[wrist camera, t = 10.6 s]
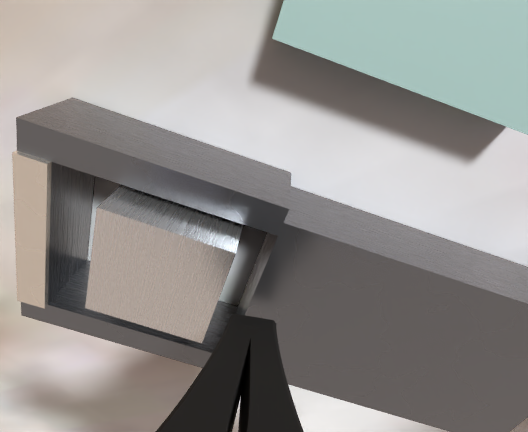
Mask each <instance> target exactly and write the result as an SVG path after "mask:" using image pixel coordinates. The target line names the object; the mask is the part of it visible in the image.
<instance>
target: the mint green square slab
mask: <svg viewBox="0 0 528 432" xmlns="http://www.w3.org/2000/svg"><path fill="white" fill-rule="evenodd" d="M272 39H274V40H277V41H280V42H282V43H285V44H288V45H290V46H293V47H296V48H298V49H301V50H304V51H306V52H309V53H312V54H314V55H317V56H320V57H322V58H325V59H328V60H330V61H333V62H336V63H338V64H341V65H343V66H346V67H349V68H351V69H354V70H357V71H359V72H362V73H365V74H367V75H370V76H373V77H375V78H378V79H381V80H383V81H386V82H389V83H391V84H394V85H397V86H399V87H402V88H405V89H407V90H410V91H413V92H415V93H418V94H421V95H423V96H426V97H429V98H431V99H434V100H437V101H439V102H442V103H445V104H447V105H450V106H453V107H455V108H458V109H461V110H463V111H466V112H469V113H471V114H474V115H477V116H479V117H482V118H485V119H487V120H490V121H493V122H495V123H498V124H501V125H503V126H506V127H509V128H511V129H514V130H517V131H519V132H522V133H525V134H527V135H528V0H284V1H283V5H282V8H281V11H280V14H279V18H278V21H277V24H276V28H275V31H274V34H273V37H272Z"/></svg>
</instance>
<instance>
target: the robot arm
mask: <svg viewBox="0 0 528 432" xmlns="http://www.w3.org/2000/svg"><path fill="white" fill-rule="evenodd" d="M240 396H241V401H240V415H239V430H238V432H303V429H302V426H301V423H300V421H299V418H298V415H297V412H296V409H295V406H294V403H293V400H292V396H291V393H290V390H289V386H288V383H287V379H286V375H285V372H284V368H283V364H282V359H281V354H280V350H279V344H278V338H277V329H276V323H275V321H274V320H270V319H264V318H258V317H252V316H246V315H240V314H232V315H231V316H230V318H229V321H228V323H227V326H226V328H225V330H224V332H223V334H222V336H221V338H220V340H219V342H218V344H217V346H216V347H215V349H214V351H213V353H212V354H211V356H210V357H209V359H208V361H207V362H206V364H205V366H204V367H203V369H202V370H201V372H200V373H199V375H198V376H197V378H196V379H195V381H194V382H193V384H192V385H191V386H190V388H189V389H188V391H187V392H186V394H185V395H184V396H183V398H182V399H181V400H180V402H179V403H178V404H177V406H176V407H175V408H174V410H173V411H172V412H171V414H170V415H169V416H168V417H167V419H166V420H165V421H164V422H163V424H162V425H161V426H160V427H159V428H158V430H157V431H156V432H232V429H233V425H234V421H235V417H236V413H237V409H238V405H239V400H240Z"/></svg>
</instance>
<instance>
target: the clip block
mask: <svg viewBox="0 0 528 432" xmlns="http://www.w3.org/2000/svg"><path fill="white" fill-rule="evenodd" d="M242 228H243V224H240V223H237V222H234V221H231V220H228V219H225V218H222V217H219V216H216V215H213V214H210V213H207V212H203V211H200V210H197V209H194V208H191V207H188V206H185V205H182V204H179V203H176V202H173V201H170V200H167V199H164V198H161V197H158V196H155V195H152V194H149V193H146V192H142V191H139V190H136V189H133V188H130V187H127V186H124V185H120V186H119V187H118V188H117V189H116V190H115V191H114V192H113V193H112V194H111V195H110V196H109V197H108V198H106V199H105V200H104V201H103V202H102V203H101V204H100V205H99V206H98V207H97V211H96V220H95V228H94V237H93V245H92V254H91V262H90V271H89V279H88V288H87V296H86V305H85V308H87V309H90V310H93V311H97V312H100V313H103V314H107V315H110V316H113V317H116V318H120V319H123V320H126V321H130V322H133V323H136V324H140V325H143V326H146V327H149V328H153V329H156V330H159V331H163V332H166V333H169V334H172V335H176V336H179V337H182V338H186V339H189V340H192V341H196V342H199V343H202V342H203V339H204V337H205V334H206V331H207V329H208V326H209V323H210V321H211V318H212V315H213V313H214V310H215V307H216V305H217V302H218V299H219V297H220V294H221V291H222V289H223V286H224V283H225V281H226V278H227V276H228V273H229V270H230V268H231V265H232V262H233V260H234V257H235V254H236V251H237V247H238V243H239V239H240V236H241V232H242Z"/></svg>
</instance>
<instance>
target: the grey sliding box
mask: <svg viewBox="0 0 528 432" xmlns="http://www.w3.org/2000/svg"><path fill="white" fill-rule="evenodd" d="M16 125H17V151H15V152H13V153H12V158H13V188H14V217H15V247H16V276H17V301H20V302H21V314H22V316H26V317H29V318H33V319H36V320H39V321H43V322H46V323H50V324H53V325H57V326H60V327H64V328H67V329H71V330H74V331H77V332H81V333H84V334H88V335H91V336H95V337H98V338H102V339H105V340H108V341H112V342H115V343H119V344H122V345H126V346H129V347H133V348H136V349H139V350H143V351H146V352H150V353H153V354H157V355H160V356H164V357H167V358H171V359H174V360H177V361H181V362H184V363H188V364H191V365H195V366H198V367H202V368H203V367H204V366H205V364H206V362H207V361H208V359H209V357H210V356H211V354H212V353H213V351H214V349H215V347H216V346H217V344H218V342H219V340H220V338H221V336H222V334H223V332H224V330H225V328H226V326H227V323H228V321H229V318H230V316H231V315H232V314H240V315H246V316H252V317H258V318H264V319H270V320H274V321H275V323H276V329H277V338H278V344H279V350H280V354H281V359H282V364H283V368H284V372H285V375H286V379H287V383H288V384H289V385H293V386H296V387H299V388H303V389H306V390H310V391H313V392H316V393H320V394H323V395H327V396H330V397H334V398H337V399H340V400H344V401H347V402H351V403H354V404H358V405H361V406H364V407H368V408H371V409H375V410H378V411H382V412H385V413H388V414H392V415H395V416H399V417H402V418H405V419H409V420H412V421H416V422H419V423H423V424H426V425H429V426H433V427H436V428H440V429H443V430H447V431H450V432H510V431H511V430H512V429H514V428H515V427H516V426H517V425H519V424H520V423H521V422H522V421H524V420H525V419H526V418H527V417H528V267H526V266H523V265H520V264H517V263H514V262H511V261H508V260H505V259H503V258H500V257H497V256H494V255H491V254H488V253H485V252H482V251H479V250H476V249H473V248H470V247H467V246H464V245H461V244H459V243H456V242H453V241H450V240H447V239H444V238H441V237H438V236H435V235H432V234H429V233H426V232H423V231H420V230H418V229H415V228H412V227H409V226H406V225H403V224H400V223H397V222H394V221H391V220H388V219H385V218H382V217H379V216H376V215H374V214H371V213H368V212H365V211H362V210H359V209H356V208H353V207H350V206H347V205H344V204H341V203H338V202H335V201H332V200H330V199H327V198H324V197H321V196H318V195H315V194H312V193H309V192H306V191H303V190H300V189H297V188H294V187H291V173H290V172H287V171H284V170H281V169H278V168H275V167H272V166H270V165H267V164H264V163H261V162H258V161H255V160H252V159H249V158H246V157H243V156H240V155H238V154H235V153H232V152H229V151H226V150H223V149H220V148H217V147H214V146H211V145H209V144H206V143H203V142H200V141H197V140H194V139H191V138H188V137H185V136H182V135H180V134H177V133H174V132H171V131H168V130H165V129H162V128H159V127H156V126H153V125H150V124H148V123H145V122H142V121H139V120H136V119H133V118H130V117H127V116H124V115H121V114H119V113H116V112H113V111H110V110H107V109H104V108H101V107H98V106H95V105H92V104H89V103H87V102H84V101H81V100H78V99H75V98H70V99H67V100H65V101H62V102H59V103H56V104H53V105H50V106H48V107H45V108H42V109H39V110H36V111H33V112H31V113H28V114H25V115H22V116H19V117H16ZM95 176H97V177H100V178H103V179H106V180H109V181H112V182H115V183H118V184H121V185H124V186H127V187H130V188H133V189H136V190H139V191H142V192H146V193H149V194H152V195H155V196H158V197H161V198H164V199H167V200H170V201H173V202H176V203H179V204H182V205H185V206H188V207H191V208H194V209H197V210H200V211H203V212H207V213H210V214H213V215H216V216H219V217H222V218H225V219H228V220H231V221H234V222H237V223H240V224H243V225H246V226H249V227H252V228H255V229H258V230H261V231H265V232H267V235H266V237H265V240H264V242H263V245H262V247H261V250H260V252H259V255H258V257H257V260H256V262H255V265H254V267H253V270H252V272H251V275H250V277H249V280H248V282H247V285H246V287H245V290H244V292H243V295H242V297H241V300H240V302H239V305H238V307H237V306H234V305H231V304H227V303H224V302H221V301H218V302H217V305H216V307H215V310H214V313H213V315H212V318H211V321H210V323H209V326H208V329H207V331H206V334H205V337H204V339H203V342H202V343H199V342H196V341H192V340H189V339H186V338H182V337H179V336H176V335H172V334H169V333H166V332H163V331H159V330H156V329H153V328H149V327H146V326H143V325H140V324H136V323H133V322H130V321H126V320H123V319H120V318H116V317H113V316H110V315H107V314H103V313H100V312H97V311H93V310H90V309H87V308H85V305H86V296H87V288H88V279H89V271H90V262H91V261H87V253H88V242H89V232H90V221H91V210H92V200H93V189H94V178H95Z"/></svg>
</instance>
